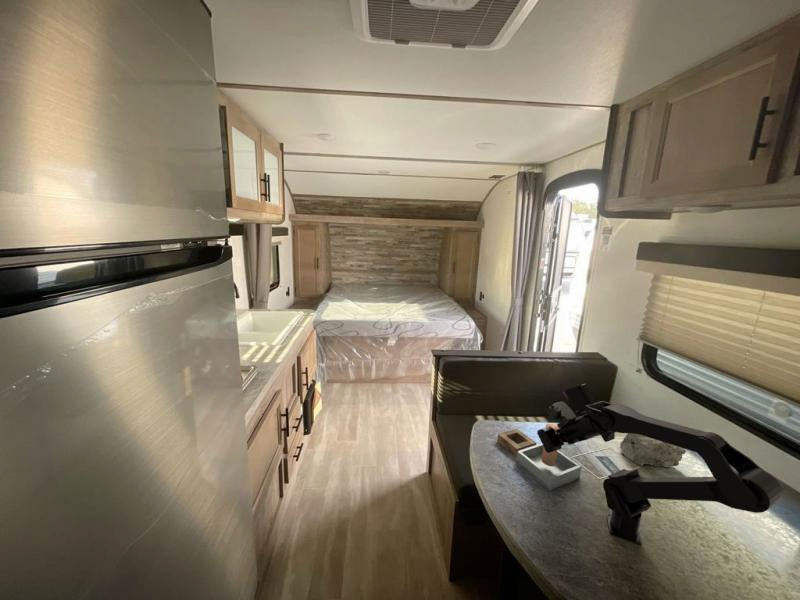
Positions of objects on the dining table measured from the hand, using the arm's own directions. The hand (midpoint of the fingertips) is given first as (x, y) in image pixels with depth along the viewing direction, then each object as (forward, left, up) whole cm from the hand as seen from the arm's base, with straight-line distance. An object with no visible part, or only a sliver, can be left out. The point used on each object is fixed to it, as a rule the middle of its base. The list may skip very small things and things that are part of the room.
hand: (547, 440), depth 100 cm
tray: (-1, -1, -9) cm, 10 cm away
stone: (+21, -32, -10) cm, 40 cm away
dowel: (-1, -1, -7) cm, 7 cm away
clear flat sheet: (+12, -18, -10) cm, 24 cm away
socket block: (+7, +9, -9) cm, 15 cm away
